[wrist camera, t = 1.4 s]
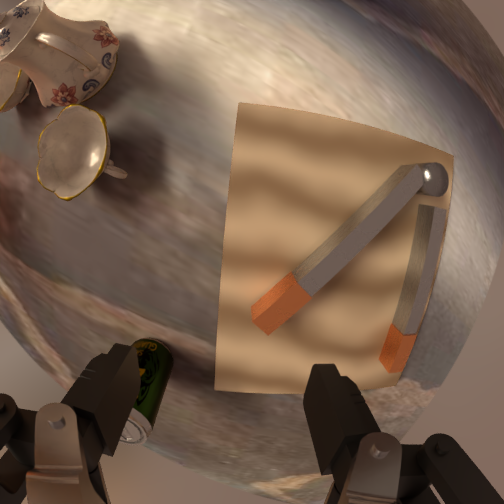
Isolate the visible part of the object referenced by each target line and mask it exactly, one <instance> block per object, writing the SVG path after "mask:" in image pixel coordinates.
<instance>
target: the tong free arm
mask: <svg viewBox="0 0 504 504" xmlns="http://www.w3.org/2000/svg"><path fill="white" fill-rule="evenodd" d="M448 185H449V177H448V173H447V171H446V169H445V167H444V166H443V165H442V164H440V163H437V162H434V163H415V164H409V165H401V166H400V167H399V168H398V169H397V170H396V171H395V172H394V173H393V174H392V175H391V176H390V177H389V178H388V179H387V180H386V181H385V182H384V183H383V184H382V185H381V186H380V187H379V188H378V189H377V190H376V191H375V192H374V193H373V194H372V195H371V196H370V197H369V198H368V199H367V200H366V201H365V202H364V203H363V204H362V205H361V206H360V207H359V208H358V209H357V210H356V211H355V212H354V213H353V214H352V215H351V216H350V217H349V218H348V219H347V220H346V221H345V222H344V223H343V224H342V225H341V226H340V227H339V228H338V229H337V230H336V231H335V232H334V233H333V234H332V235H331V236H330V237H329V238H328V239H326V240H325V241H324V242H323V243H322V244H321V245H320V246H319V247H318V248H317V249H316V250H315V251H314V252H313V253H312V254H311V255H309V256H308V257H307V258H306V259H305V260H304V261H303V262H302V263H301V264H300V265H299V266H298V267H297V268H295V269H294V270H293V271H292V272H291V271H290V272H289V273H288V274H287V275H286V276H285V277H284V278H282V279H281V280H280V281H279V282H278V283H277V284H276V285H275V286H274V287H272V288H271V289H270V290H269V291H268V292H267V293H266V294H265V295H264V296H262V297H261V298H260V299H259V300H258V301H257V302H256V303H254V304H253V305H252V306H251V315H252V322H253V323H254V324H255V325H256V326H257V327H259V328H260V329H261V330H262V331H263V332H264V333H265V334H267V335H268V336H269V335H270V334H271V333H272V332H273V331H275V330H276V329H277V328H278V327H279V326H281V325H282V324H283V323H284V322H285V321H287V320H288V319H289V318H290V317H291V316H292V315H294V314H295V313H296V312H297V311H298V310H299V309H301V308H302V307H303V306H304V305H305V304H306V303H307V302H308V301H310V300H311V299H312V296H313V295H314V294H315V293H316V292H317V291H318V290H320V289H321V288H322V287H323V286H324V285H325V284H326V283H327V282H328V281H329V280H330V279H332V278H333V277H334V276H335V275H336V274H337V273H338V272H339V271H340V270H341V269H342V268H343V267H344V266H345V265H346V264H347V263H348V262H350V261H351V260H352V259H353V258H354V257H355V256H356V255H357V254H358V253H359V252H360V251H361V250H362V249H363V248H364V247H365V246H366V245H367V244H368V243H369V242H370V241H371V240H372V239H373V238H374V237H375V236H376V235H377V234H378V233H379V232H380V231H381V230H382V229H383V228H384V227H385V226H386V225H387V223H388V222H389V221H390V220H391V219H392V218H393V217H394V216H395V215H396V214H397V213H398V212H399V211H400V210H401V209H402V208H403V206H404V205H405V204H406V203H407V202H408V201H409V200H410V199H411V198H412V197H413V196H414V194H419V195H427V196H435V197H440V196H443V195H444V194H445V193H446V191H447V189H448Z"/></svg>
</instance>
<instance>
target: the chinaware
mask: <svg viewBox="0 0 504 504" xmlns="http://www.w3.org/2000/svg"><path fill="white" fill-rule="evenodd" d="M118 48H119V40H118V39H117V38H116V37H115V36H114V34H113V33H112V32H111V30H110V28H109V26H108V24H107V23H106V22H105V21H100V20H94V21H73V20H69V19H65V18H62V17H60V16H58V15H56V14H55V13H53V12H52V11H50V10H49V9H48V7H47V6H46V4H45V2H44V0H25V1H23V2H21V3H20V4H19V5H18V7H15V8H13V9H11V10H10V11H8V12H6V11H5V12H3V13H1V14H0V113H2V112H6V111H8V110H10V109H12V108H13V107H15V106H16V105H17V104H18V103H19V102H20V104H21V102H22V101H23V100H24V99H25V98H26V96H27V95H29V91H30V87H31V83H32V82H30V78H31V80H32V81H33V83H34V85H35V87H36V90H37V93H38V96H39V99H40V101H41V103H42V105H43V106H44V107H46V108H52V107H58V106H67V107H66V108H64V109H63V110H62V111H61V113H60V114H59V116H58V117H57V119H58V120H56V119H55V120H54V121H52V122H51V123H49V124H48V125H47V126H46V127H45V128H44V130H43V132H42V133H41V134H40V136H39V142H38V152H39V157H40V158H41V159H40V160H39V163H38V167H37V176H38V181H39V183H40V184H41V185H42V186H43V187H44V188H45V189H47V190H49V191H51V192H55V194H56V195H57V197H58V198H60V199H63V200H65V201H70V200H72V199H73V198H75V197H77V196H79V195H80V194H81V193H82V192H84V191H85V190H86V189H87V188H88V187H89V186H90V185H92V184H93V183H94V182H95V181H96V179H97V178H98V177H99V176H100V175H101V174H102V172H103V171H104V173H108V174H109V175H111V176H113V177H115V178H119V179H125V178H126V177H127V173H126V172H125V171H124V170H122V169H120V168H118V167H115V166H113V164H114V163H113V161H112V160H109V156H110V150H111V149H110V148H111V145H110V138H109V135H108V133H107V126H106V124H107V122H106V119H105V117H104V116H102V115H101V114H100V113H99V112H97V111H95V110H92V109H91V110H90V108H88V107H86V106H84V105H81V104H79V103H81V102H84V101H86V100H88V99H90V98H92V97H93V96H94V95H96V94H97V93H98V92H99V91H100V90H101V89H102V88H103V87H104V86H105V85H106V84H107V82H108V81H109V79H110V78H111V76H112V74H113V72H114V70H115V67H116V64H117V51H118Z"/></svg>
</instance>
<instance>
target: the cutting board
mask: <svg viewBox="0 0 504 504" xmlns="http://www.w3.org/2000/svg"><path fill="white" fill-rule="evenodd" d="M453 160H454V156H453V155H451V154H448V153H446V152H444V151H441V150H439V149H436V148H434V147H431V146H428V145H426V144H423V143H420V142H418V141H415V140H412V139H409V138H406V137H403V136H400V135H397V134H394V133H391V132H388V131H385V130H381V129H378V128H375V127H371V126H367V125H364V124H360V123H356V122H352V121H348V120H344V119H340V118H335V117H331V116H326V115H321V114H316V113H311V112H306V111H300V110H294V109H288V108H281V107H274V106H266V105H258V104H249V103H239V104H238V112H237V120H236V128H235V136H234V145H233V154H232V163H231V172H230V182H229V191H228V202H227V212H226V223H225V234H224V246H223V258H222V270H221V283H220V297H219V312H218V328H217V345H216V365H215V386H214V390H219V391H231V392H246V393H271V394H304V393H305V390H306V386H307V383H308V379H309V376H310V372H311V369H312V366H313V365H314V364H329V363H334V364H335V365H336V367H337V369H338V371H339V373H340V375H341V376H347V377H349V378H350V379H351V380H352V381H353V382H354V383H356V385H357V386H358V388H359V390H367V389H376V388H384V387H391V386H396V384H397V382H398V380H399V378H400V376H401V374H402V372H397V373H388V372H387V371H386V369H385V368H384V366H383V365H382V364H381V362H380V361H379V356H380V354H381V351H382V348H383V346H384V343H385V340H386V337H387V334H388V331H389V328H390V325H391V323H392V321H393V318H394V315H395V311H396V308H397V305H398V301H399V298H400V294H401V290H402V286H403V283H404V279H405V275H406V270H407V266H408V262H409V257H410V252H411V248H412V242H413V237H414V232H415V226H416V220H417V213H418V206H419V204H424V205H429V206H435V207H438V208H442V209H446V210H447V212H446V219H445V225H444V231H443V236H442V242H441V247H440V251H439V256H438V260H437V265H436V269H435V273H434V277H433V281H432V284H431V288H430V292H429V295H428V298H427V302H426V305H425V308H424V311H423V314H422V317H421V320H420V323H419V326H418V329H417V332H416V334H417V335H418V332H419V329H420V326H421V324H422V321H423V318H424V315H425V312H426V309H427V305H428V302H429V299H430V295H431V292H432V288H433V285H434V281H435V277H436V273H437V269H438V265H439V261H440V257H441V252H442V247H443V242H444V237H445V231H446V226H447V219H448V213H449V205H450V197H451V188H452V176H453ZM434 162H437V163H440V164H442V165H443V166H444V167H445V169H446V171H447V173H448V177H449V185H448V189H447V191H446V193H445V194H444V195H443V196H440V197H435V196H427V195H419V194H414V196H413V197H412V198H411V199H410V200H409V201H408V202H407V203H406V204H405V205H404V206H403V208H402V209H401V210H400V211H399V212H398V213H397V214H396V215H395V216H394V217H393V218H392V219H391V220H390V221H389V222H388V223H387V225H386V226H385V227H384V228H383V229H382V230H381V231H380V232H379V233H378V234H377V235H376V236H375V237H374V238H373V239H372V240H371V241H370V242H369V243H368V244H367V245H366V246H365V247H364V248H363V249H362V250H361V251H360V252H359V253H358V254H357V255H356V256H355V257H354V258H353V259H352V260H351V261H350V262H348V263H347V264H346V265H345V266H344V267H343V268H342V269H341V270H340V271H339V272H338V273H337V274H336V275H335V276H334V277H333V278H332V279H330V280H329V281H328V282H327V283H326V284H325V285H324V286H323V287H322V288H321V289H320V290H318V291H317V292H316V293H315V294H314V295H313V296H312V299H311V300H310V301H308V302H307V303H306V304H305V305H304V306H303V307H302V308H301V309H299V310H298V311H297V312H296V313H295V314H294V315H292V316H291V317H290V318H289V319H288V320H287V321H285V322H284V323H283V324H282V325H281V326H279V327H278V328H277V329H276V330H275V331H273V332H272V333H271V334H270V335H269V336H268V335H267V334H265V333H264V332H263V331H262V330H261V329H260V328H259V327H257V326H256V325H255V324H254V323H253V322H252V315H251V306H252V305H253V304H254V303H256V302H257V301H258V300H259V299H260V298H261V297H262V296H264V295H265V294H266V293H267V292H268V291H269V290H270V289H271V288H272V287H274V286H275V285H276V284H277V283H278V282H279V281H280V280H281V279H282V278H284V277H285V276H286V275H287V274H288V273H289V272H290V271H291V272H292V271H293V270H294V269H295V268H297V267H298V266H299V265H300V264H301V263H302V262H303V261H304V260H305V259H306V258H307V257H308V256H309V255H311V254H312V253H313V252H314V251H315V250H316V249H317V248H318V247H319V246H320V245H321V244H322V243H323V242H324V241H325V240H326V239H328V238H329V237H330V236H331V235H332V234H333V233H334V232H335V231H336V230H337V229H338V228H339V227H340V226H341V225H342V224H343V223H344V222H345V221H346V220H347V219H348V218H349V217H350V216H351V215H352V214H353V213H354V212H355V211H356V210H357V209H358V208H359V207H360V206H361V205H362V204H363V203H364V202H365V201H366V200H367V199H368V198H369V197H370V196H371V195H372V194H373V193H374V192H375V191H376V190H377V189H378V188H379V187H380V186H381V185H382V184H383V183H384V182H385V181H386V180H387V179H388V178H389V177H390V176H391V175H392V174H393V173H394V172H395V171H396V170H397V169H398V168H399V167H400V166H401V165H409V164H415V163H434ZM415 340H416V339H415ZM414 343H415V342H414ZM412 348H413V347H412ZM410 353H411V352H410ZM407 360H408V359H407ZM405 365H406V364H405ZM404 367H405V366H404Z"/></svg>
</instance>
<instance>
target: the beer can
mask: <svg viewBox="0 0 504 504" xmlns="http://www.w3.org/2000/svg"><path fill="white" fill-rule="evenodd" d="M131 346H133V347H135V348H136V350H137V357H138V364H139V371H140V378H141V385H140V391H139V394H138V396H137V399H136V401H135V403H134V406H133V408H132V411H131V413H130V415H129V418H128V420H127V423H126V425H125V427H124V430H123V432H122V435H121V437H120V440H119V442H121V443H124V444H127V445H141V444H143V443H145V441H146V439H147V437H149V436H150V434H151V432H152V429H153V426H154V423H155V420H156V417H157V414H158V410H159V407H160V404H161V401H162V398H163V395H164V392H165V389H166V386H167V383H168V380H169V377H170V374H171V371H172V368H173V357H172V354H171V351H170V350H169V348H168V347H167V346H166V345H165V344H164V343H162V342H161V341H159V340H157V339H154V338H142V339H140V340H137V341H135V342H134V343H133V344H132V345H131Z"/></svg>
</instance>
